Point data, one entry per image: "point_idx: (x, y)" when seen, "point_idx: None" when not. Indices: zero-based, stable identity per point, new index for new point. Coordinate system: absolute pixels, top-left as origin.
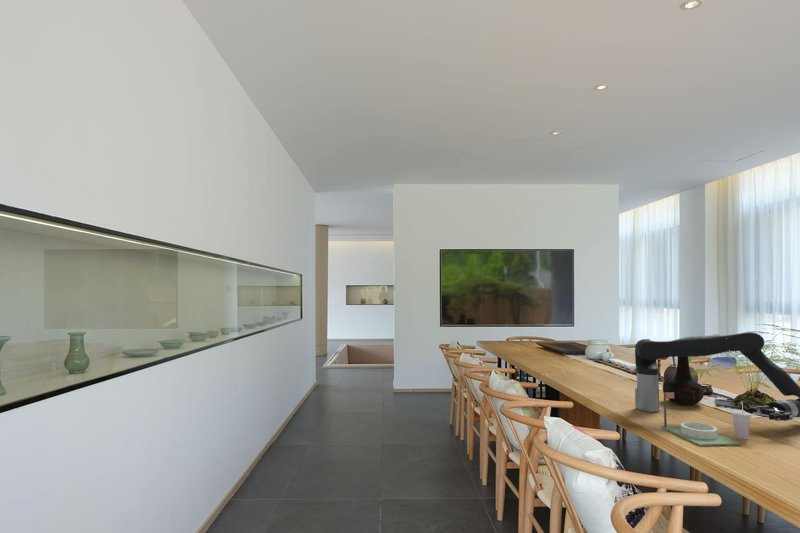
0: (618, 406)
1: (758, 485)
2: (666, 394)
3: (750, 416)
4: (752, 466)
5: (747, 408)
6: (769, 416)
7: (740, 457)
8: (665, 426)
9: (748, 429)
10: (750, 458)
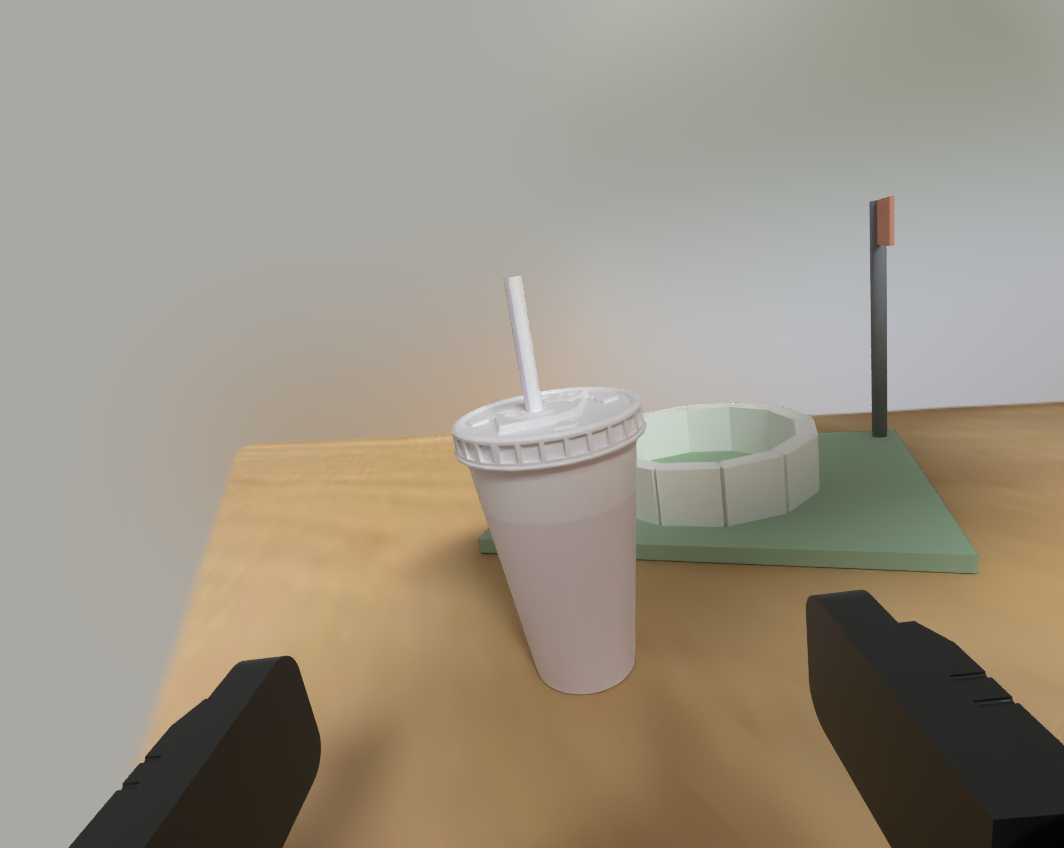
0: None
1: (310, 442)
2: (877, 214)
3: (455, 446)
4: (348, 474)
5: (866, 614)
6: (295, 691)
7: (407, 485)
8: (873, 431)
9: (507, 581)
10: (374, 499)
